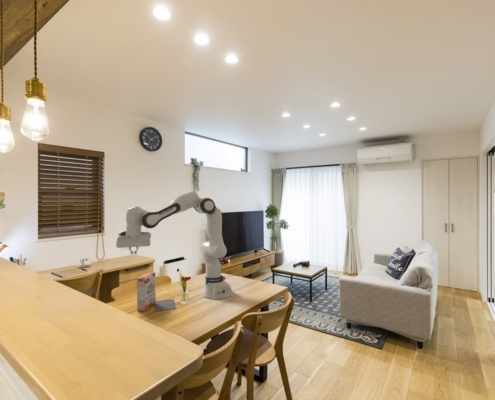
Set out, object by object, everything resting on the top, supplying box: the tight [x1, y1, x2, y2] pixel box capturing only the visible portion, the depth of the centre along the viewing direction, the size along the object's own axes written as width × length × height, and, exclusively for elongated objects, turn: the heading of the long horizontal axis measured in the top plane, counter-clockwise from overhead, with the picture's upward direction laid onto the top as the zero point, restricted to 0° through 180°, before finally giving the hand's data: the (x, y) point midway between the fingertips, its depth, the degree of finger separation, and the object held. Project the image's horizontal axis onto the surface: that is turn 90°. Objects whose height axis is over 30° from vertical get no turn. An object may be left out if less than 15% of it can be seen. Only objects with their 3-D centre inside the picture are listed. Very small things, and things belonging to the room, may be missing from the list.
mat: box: [153, 298, 177, 312], centre depth 185 cm, size 13×18×1 cm
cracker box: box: [136, 271, 157, 312], centre depth 181 cm, size 14×6×21 cm, turn 171°
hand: (133, 253), depth 179 cm, fingers closed
